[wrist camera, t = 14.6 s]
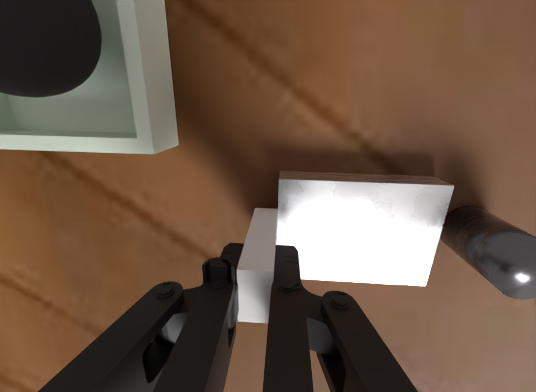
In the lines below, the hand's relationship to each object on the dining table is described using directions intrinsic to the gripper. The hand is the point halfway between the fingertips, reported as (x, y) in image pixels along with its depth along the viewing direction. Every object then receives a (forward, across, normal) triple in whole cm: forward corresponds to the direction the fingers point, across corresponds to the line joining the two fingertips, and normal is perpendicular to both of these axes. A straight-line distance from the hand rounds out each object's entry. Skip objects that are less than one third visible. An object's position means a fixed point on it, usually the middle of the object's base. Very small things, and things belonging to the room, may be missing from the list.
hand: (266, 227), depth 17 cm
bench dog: (+1, +14, 0) cm, 14 cm away
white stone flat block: (+2, +6, 0) cm, 6 cm away
